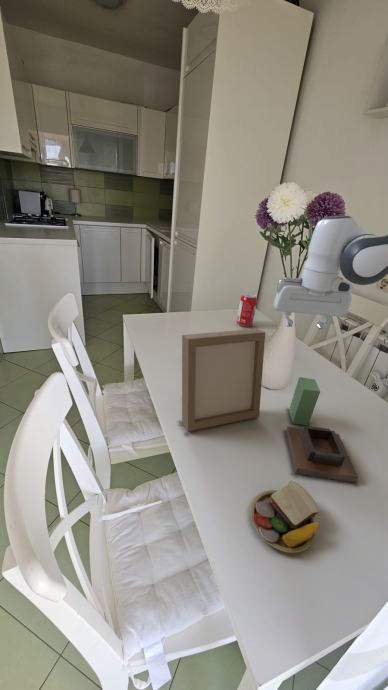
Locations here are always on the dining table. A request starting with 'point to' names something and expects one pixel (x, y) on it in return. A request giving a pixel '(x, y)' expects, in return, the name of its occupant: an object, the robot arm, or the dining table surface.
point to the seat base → (319, 453)
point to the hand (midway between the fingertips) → (304, 327)
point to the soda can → (247, 309)
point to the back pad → (304, 401)
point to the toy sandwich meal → (285, 517)
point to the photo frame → (221, 377)
